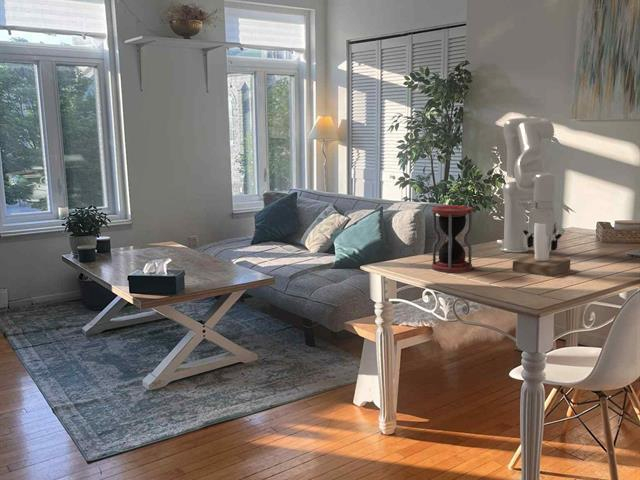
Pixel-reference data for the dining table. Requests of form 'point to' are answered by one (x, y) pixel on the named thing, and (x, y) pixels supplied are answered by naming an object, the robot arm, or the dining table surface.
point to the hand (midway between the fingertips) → (541, 248)
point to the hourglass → (452, 238)
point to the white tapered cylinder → (541, 242)
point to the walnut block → (541, 266)
